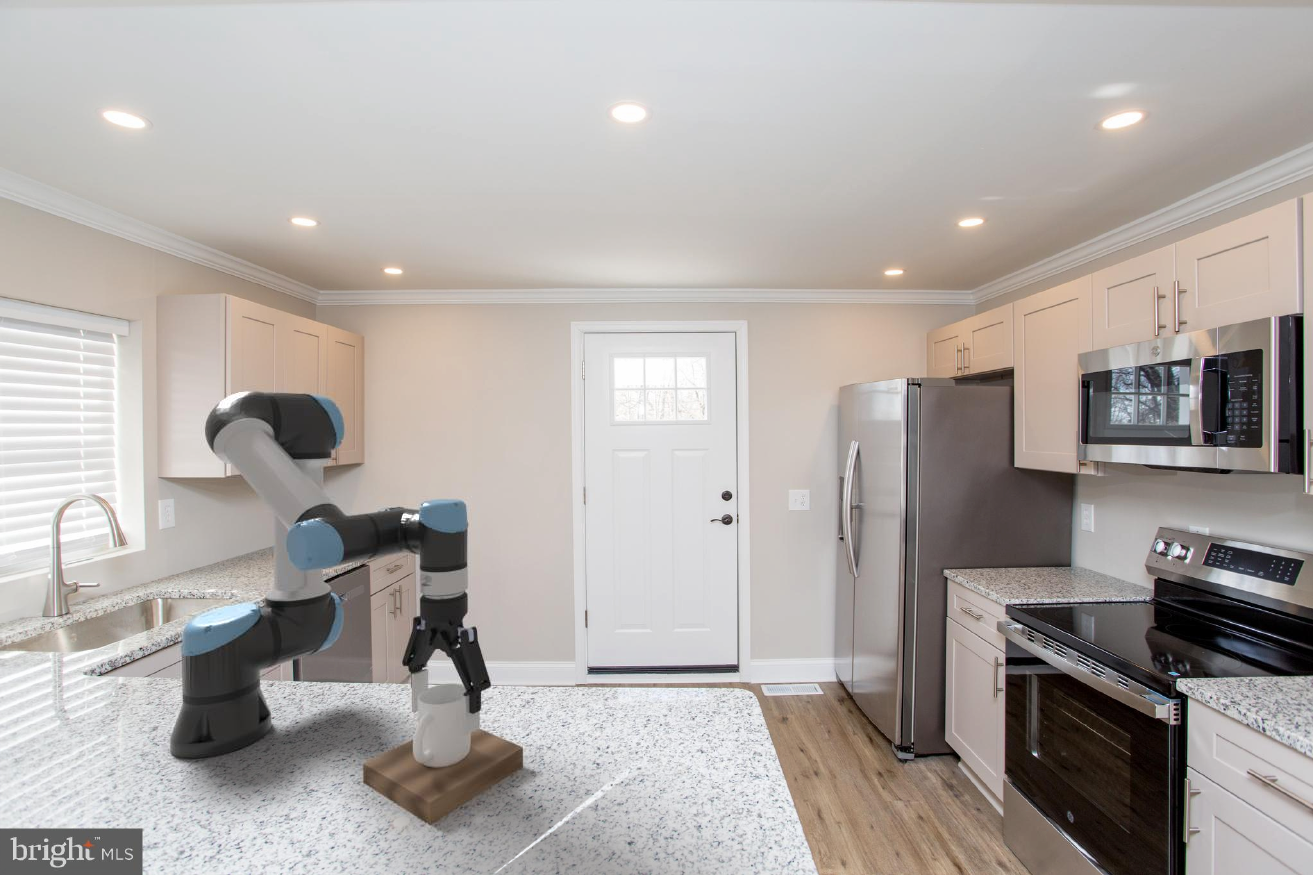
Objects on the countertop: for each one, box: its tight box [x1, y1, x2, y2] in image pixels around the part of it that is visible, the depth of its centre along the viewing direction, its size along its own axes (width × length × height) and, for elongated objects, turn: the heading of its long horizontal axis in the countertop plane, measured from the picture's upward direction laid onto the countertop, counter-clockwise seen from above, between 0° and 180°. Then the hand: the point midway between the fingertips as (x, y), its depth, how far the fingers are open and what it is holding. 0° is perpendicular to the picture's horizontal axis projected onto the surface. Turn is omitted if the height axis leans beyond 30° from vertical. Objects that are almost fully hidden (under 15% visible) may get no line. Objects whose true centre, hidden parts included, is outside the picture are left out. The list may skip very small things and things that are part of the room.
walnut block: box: [362, 728, 524, 826], centre depth 98 cm, size 18×18×4 cm
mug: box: [412, 682, 471, 768], centre depth 96 cm, size 12×8×10 cm
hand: (444, 719), depth 98 cm, fingers open, 13 cm apart
